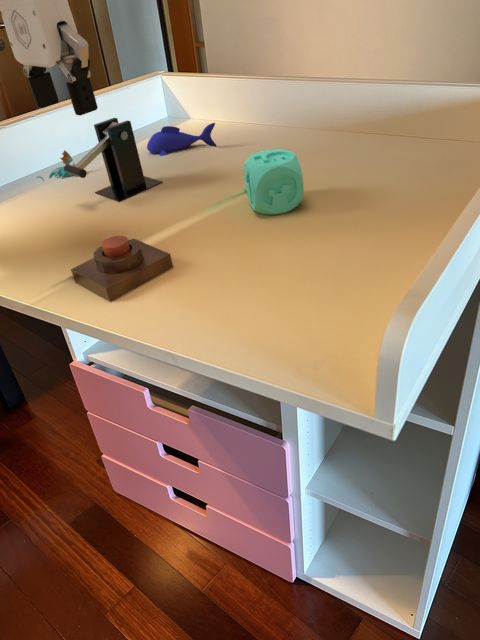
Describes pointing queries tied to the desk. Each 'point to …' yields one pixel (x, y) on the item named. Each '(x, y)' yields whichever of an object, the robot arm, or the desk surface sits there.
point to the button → (115, 246)
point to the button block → (121, 270)
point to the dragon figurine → (60, 170)
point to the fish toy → (176, 140)
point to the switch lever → (89, 156)
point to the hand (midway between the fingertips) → (67, 108)
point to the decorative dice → (273, 181)
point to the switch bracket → (122, 162)
